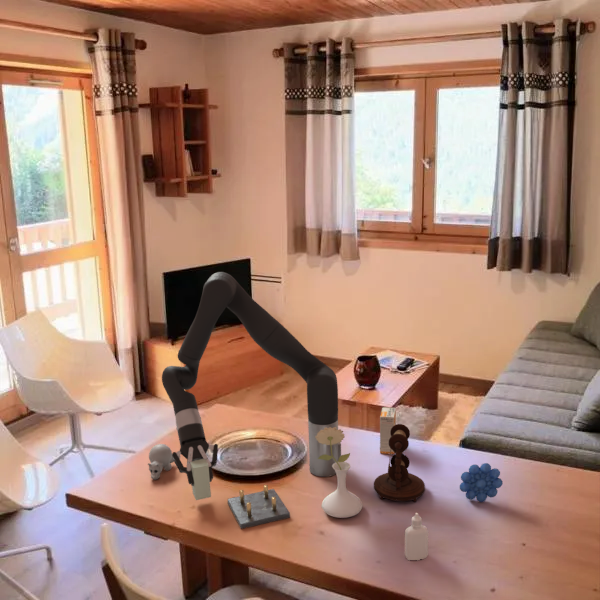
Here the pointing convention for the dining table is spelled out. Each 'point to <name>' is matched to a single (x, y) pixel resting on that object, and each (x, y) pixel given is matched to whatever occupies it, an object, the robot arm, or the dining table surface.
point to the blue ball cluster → (480, 482)
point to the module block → (200, 479)
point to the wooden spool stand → (399, 471)
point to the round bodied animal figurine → (159, 460)
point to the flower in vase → (341, 499)
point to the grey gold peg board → (258, 508)
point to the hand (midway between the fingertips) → (201, 482)
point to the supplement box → (386, 428)
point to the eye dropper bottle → (416, 540)
